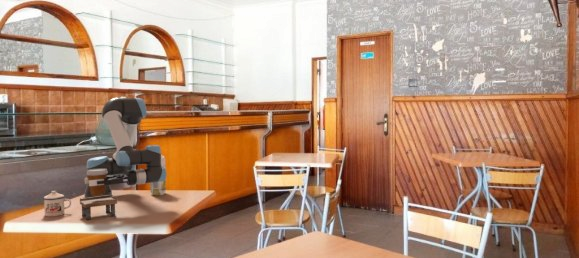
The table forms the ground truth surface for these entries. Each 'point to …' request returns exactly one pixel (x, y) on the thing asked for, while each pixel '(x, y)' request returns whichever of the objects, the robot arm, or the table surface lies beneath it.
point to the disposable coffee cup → (94, 175)
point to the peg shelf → (97, 204)
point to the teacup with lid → (54, 204)
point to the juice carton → (159, 187)
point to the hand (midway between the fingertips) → (87, 182)
